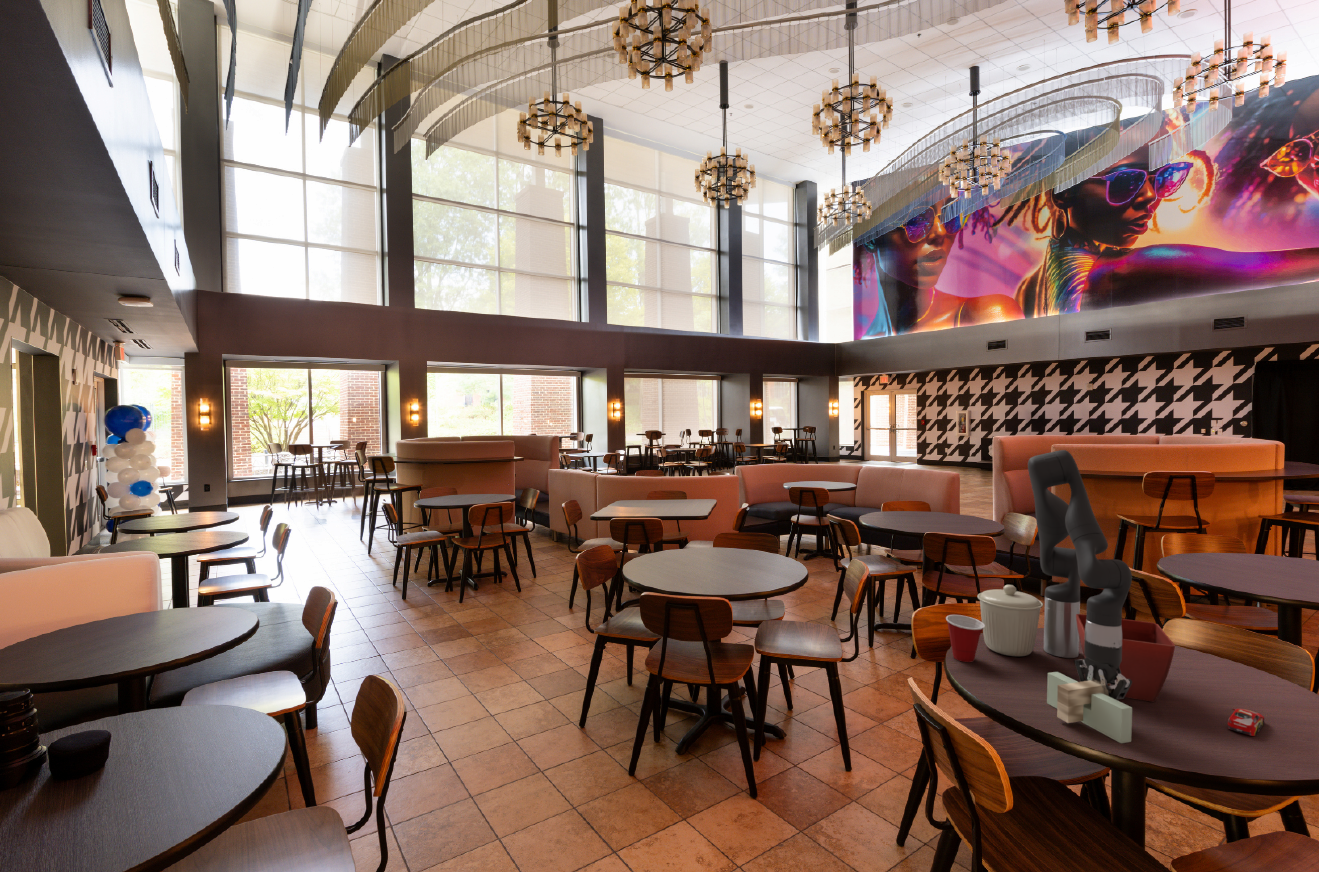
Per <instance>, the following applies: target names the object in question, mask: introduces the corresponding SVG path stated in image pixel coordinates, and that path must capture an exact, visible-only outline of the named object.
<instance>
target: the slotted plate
mask: <svg viewBox="0 0 1319 872" xmlns="http://www.w3.org/2000/svg"><path fill="white" fill-rule="evenodd" d="M1107 684H1110V683H1107ZM1098 693H1103V694H1104V689H1103V688H1102V685H1101V681H1099V680H1093V681H1091V680H1089V681H1083V682H1080V681H1078V682H1076V683H1069V684H1062V685H1058V695H1057V708H1056V709H1057V711H1056V712H1057V714H1056V716H1057V718H1058V719H1059V720H1062V721H1063V722H1066V723H1067V724H1072V723H1076V722H1077V723H1078V722H1081V721H1083V704H1091V700H1092V694H1098ZM1110 693H1111V692H1110Z"/></svg>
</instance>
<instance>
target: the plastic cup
mask: <svg viewBox="0 0 1319 872" xmlns="http://www.w3.org/2000/svg"><path fill="white" fill-rule="evenodd" d="M945 620H946V621H947V622H946V623H947V628H948V632H949V640H950V646H951V652H952V656H953V658H954V659H955V660H957V661H960V662H965V663H972V662H975V658H976V653H977V650H978V646H979V641H980V637H981V634H982V633H983V629H984V627H985V624H984V623H983V622H982V620H979V619H976V618H973V617H970V616H966V615H961V614H949V615H947V616H946V617H945Z"/></svg>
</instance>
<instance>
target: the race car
mask: <svg viewBox="0 0 1319 872" xmlns="http://www.w3.org/2000/svg"><path fill="white" fill-rule="evenodd" d="M1231 710H1232V711H1233V712H1232V713H1231V715H1230V716H1229V717H1228V720H1227V726H1226V727H1227V729H1228V730H1231V731H1232V732H1233V731H1234V732H1237V733H1241V734H1243V735H1247V736H1251V737H1256V736H1257V735H1258V734H1259V732H1260V731H1261V729H1262V728H1263V726H1264V725H1265V724H1264V723H1265V716H1263V715H1262V714H1261V713H1258V712H1257V711H1253V710H1250V709H1246V708H1232V709H1231Z"/></svg>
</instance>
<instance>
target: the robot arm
mask: <svg viewBox="0 0 1319 872" xmlns="http://www.w3.org/2000/svg"><path fill="white" fill-rule="evenodd" d="M1027 471H1028V476H1029V480H1030V485H1031V489H1032V493H1033V499H1034V507H1035V509H1034V511H1035V519H1036V527H1037V531H1038V533H1037V534H1038V538H1039V563H1040V569H1041V570H1042V571H1041V572H1042V573H1044V574H1045V575H1046V576H1051V577H1057V578H1065V579H1068V580H1066V582H1063V583H1059V584H1053V585H1050V586H1047V587H1046V588H1045V590H1044V622H1043V624H1044V625H1043V651H1044V652H1046V653H1047V654H1049V655H1052V656H1056V657H1058V658H1066V659H1074V664H1075V668H1076V671H1077V675H1078V678H1079V682H1083V681H1089V680H1091V681H1093V680H1099V681H1101V685H1102V688H1103V689H1104V694H1105V695H1107V696H1109V697H1111V698H1113V699H1115V700H1117V701H1118V700H1123V699H1125V698H1126V697H1125V695H1126V693H1127V692H1128V690H1129V688H1130V686H1131V684H1132V680H1131V679H1126V678H1125V677H1124V676H1123V675H1122V674H1121V670H1120V667H1119V666H1120V663H1121V661H1122V627H1121V624H1122V619H1123V617H1122V614H1123V607H1124V604H1125V602H1126V599H1127V596H1128V593H1129V591H1130V589H1131V587H1132V586H1131V585H1132V581H1133V576H1132V571H1131V568H1130V567H1129V565H1128V564H1127V563H1126V562H1125V561H1123V560H1120V559H1114V558H1113V559H1112V558H1111V559H1110V558H1108V559H1104V558H1103V559H1102V558H1101V559H1099V558H1097V556H1096V555H1099V554H1102V553H1104V552H1106V550H1107V549H1108V547H1109V544H1108V540H1107V538H1106V537H1105V534H1104V532H1103V531H1102V529H1101V527H1100V523H1098V521H1097V518H1096V516H1095V514H1094V513H1095V512H1094V511H1093V509H1092V505H1091V503H1090V502H1091V501H1090V500H1089V496H1088V492H1087V489H1086V487H1085V484H1084V481H1083V479H1082V475H1081V473H1080V469H1079V467H1078V465H1077V463H1076V460H1075V458H1074V457H1073V455H1072V454H1071V452H1070V451H1068V450H1066V449H1060V450H1055V451H1050V452H1046V453H1042V454H1037V455H1034V456H1031V457H1030V458H1029V459H1028V462H1027ZM1066 484H1069V488H1070V499H1069V503H1068V502H1066V501H1065V500H1064V499H1062V498H1061V497H1059V496H1057V494H1054V493H1052V492H1051V491H1050V490H1049V489H1048V488H1051V487H1056V486H1061V485H1066ZM1068 536H1069V539H1070V540H1071V543H1072V544H1073V547H1074V548H1068V547H1062V546H1061V547H1060V546H1059V547H1058V546H1057V545H1058V544H1061V542H1062V541H1064V540H1066V539H1067V538H1068ZM1081 581H1082V584H1084V585H1085V586H1086V587H1088V588H1091V589H1095V590H1096V589H1097V590H1098V589H1099V590H1102V589H1103V590H1102V592H1101V593H1099V594H1097V595H1094V596H1090V597H1088V599H1087V601H1086V614H1085V615H1086V625H1085V641H1084V655H1085V656H1086V658H1081V659H1080V658H1079V659H1075V658H1077V657H1079V651H1080V650H1079V647H1080V645H1079V643H1080V638H1079V633H1078V628H1077V621H1076V614H1081V613H1080V612H1081V611H1080V610H1081V609H1080V607H1081ZM1084 655H1083V656H1084ZM1116 679H1118V680H1117V681H1116ZM1107 683H1110V684H1107ZM1110 692H1111V693H1110Z"/></svg>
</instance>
